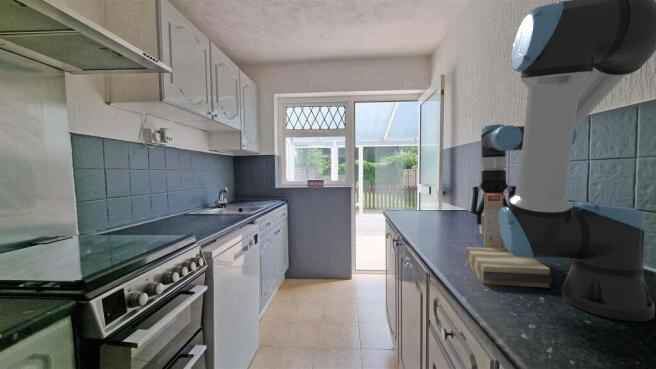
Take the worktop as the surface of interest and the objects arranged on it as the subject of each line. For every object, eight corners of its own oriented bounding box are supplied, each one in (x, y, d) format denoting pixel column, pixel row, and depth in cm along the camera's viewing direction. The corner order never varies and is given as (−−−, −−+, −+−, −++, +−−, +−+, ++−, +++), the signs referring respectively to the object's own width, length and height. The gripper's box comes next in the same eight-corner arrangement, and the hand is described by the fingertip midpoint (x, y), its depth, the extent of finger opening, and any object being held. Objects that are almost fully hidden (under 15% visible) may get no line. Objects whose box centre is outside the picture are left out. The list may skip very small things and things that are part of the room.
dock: (551, 289, 75) (552, 270, 74) (484, 285, 78) (484, 267, 78) (518, 263, 94) (519, 248, 94) (466, 261, 98) (466, 247, 97)
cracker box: (504, 256, 95) (504, 194, 95) (484, 254, 98) (483, 193, 97) (502, 246, 108) (502, 191, 107) (484, 245, 111) (483, 191, 110)
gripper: (520, 168, 103) (520, 232, 104) (460, 170, 108) (461, 231, 109) (530, 168, 96) (529, 236, 97) (465, 170, 100) (466, 235, 101)
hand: (493, 233), depth 103 cm, fingers closed on cracker box, 7 cm apart
